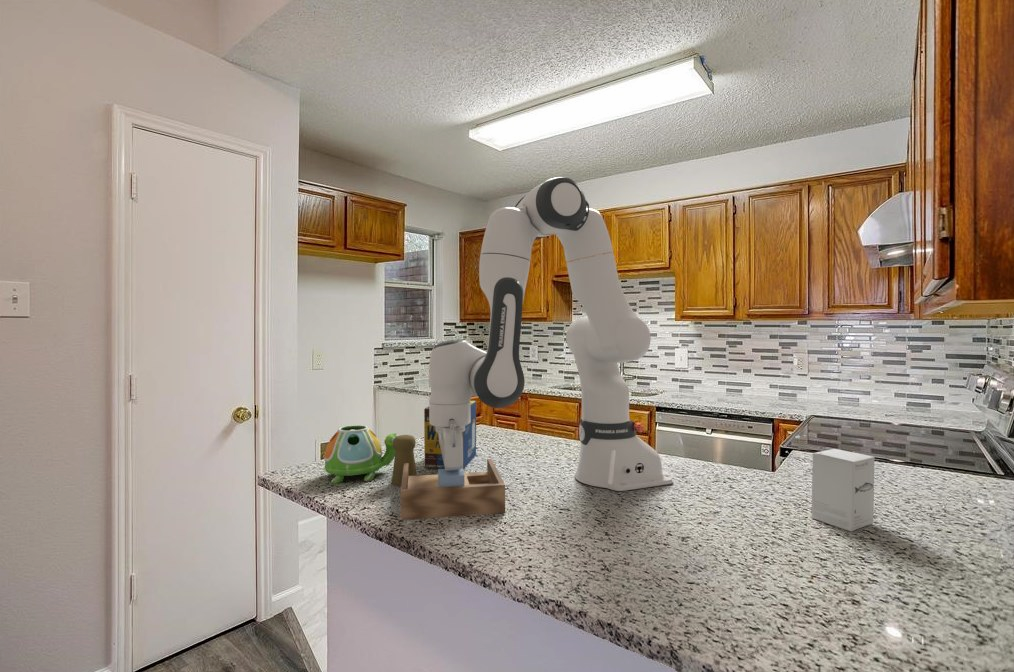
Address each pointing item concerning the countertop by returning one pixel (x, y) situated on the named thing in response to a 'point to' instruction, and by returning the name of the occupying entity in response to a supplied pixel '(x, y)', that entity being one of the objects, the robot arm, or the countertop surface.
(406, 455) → the cork
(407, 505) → the tray
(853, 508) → the supplement box
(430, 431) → the protein box
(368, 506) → the countertop surface
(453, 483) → the slate block
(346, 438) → the turtle holder
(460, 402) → the robot arm
